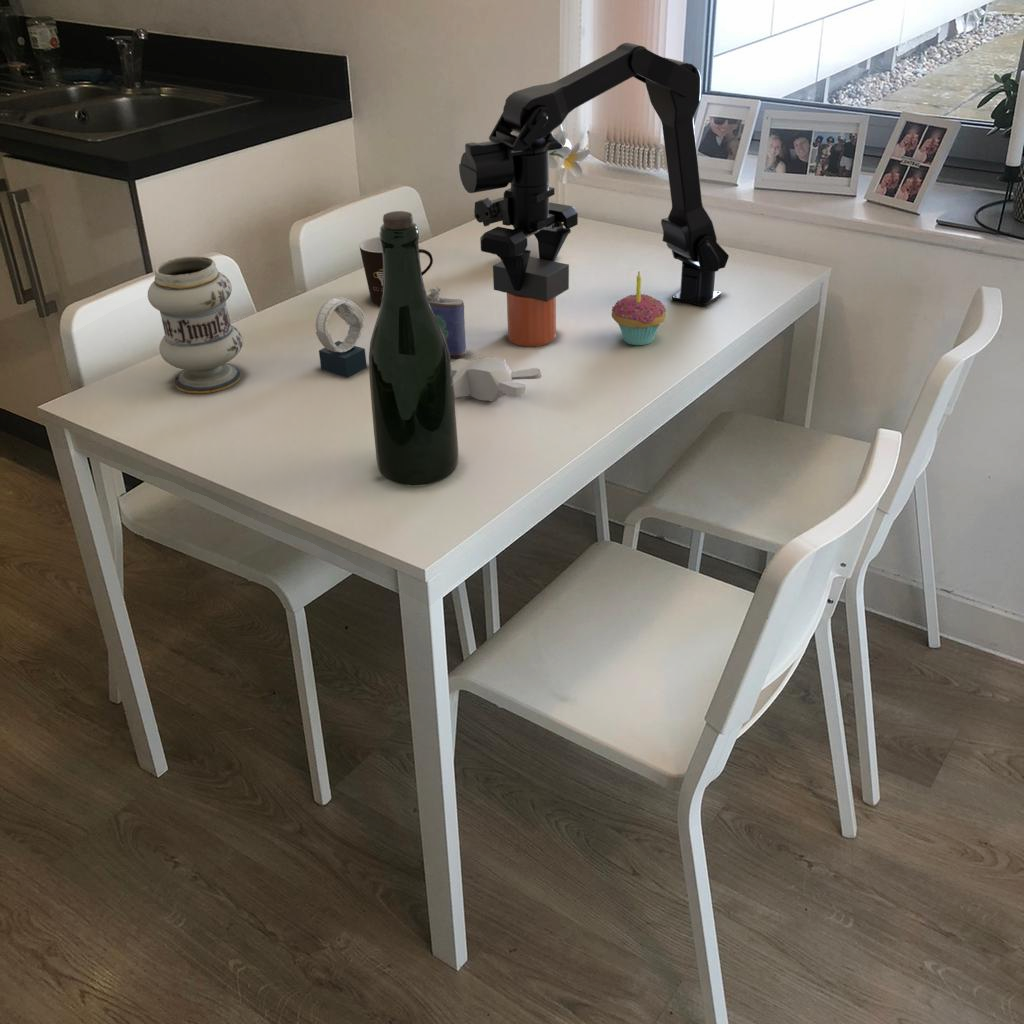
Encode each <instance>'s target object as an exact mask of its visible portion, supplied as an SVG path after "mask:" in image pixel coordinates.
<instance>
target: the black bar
mask: <svg viewBox="0 0 1024 1024" xmlns="http://www.w3.org/2000/svg"><path fill="white" fill-rule="evenodd" d="M492 282H493V290H494V291H498V292H502V293H506V294H507V293H510V294H515V295H519V296H523V297H528V298H532V299H537V300H541V301H545V302H547V301H549V300H551V299H552V298H554V297H556V298H557V297H558V296H560V295H561V294H563V293H565V292H566V291H568V290H569V289H570V264H569V263H563V262H558V261H549V260H544V259H539V258H534V257H529V261H528V265H527V269H526V273H525V277H524V281H523V285H522V288H521V290H520V291H515V290H514V289H513V287H512V284H511V281H510V279H509V276H508V273H507V271H506V268H505V266H504V264H503V262H502V260H500V261H499V262H497V263H495V264H493V265H492Z"/></svg>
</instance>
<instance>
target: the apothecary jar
mask: <svg viewBox="0 0 1024 1024" xmlns="http://www.w3.org/2000/svg"><path fill="white" fill-rule="evenodd" d="M232 291H233V287H232V283H231V281H230V279H229V278H228V277H227V276H226V275H225V274H223V273H222V272H220V271H219V270H218V268H217V265H216V262H215V260H214V259H213V258H211V257H208V256H203V255H199V256H198V255H187V256H179V257H174V258H170V259H167V260H164V261H163V262H161V263H159V264H158V265H157V266H155V268H154V280H153V282H152V283H151V284H150V285H149V287H148V290H147V300H148V302H149V304H150V305H151V306H152V307H153V308H154V309H156V310H157V311H158V312H159V314H160V317H161V321H162V322H161V323H162V327H163V333H164V336H163V337H162V339H161V340H160V342H159V345H158V350H159V354H160V356H161V358H162V359H163V360H164V361H165V363H167V364H168V365H170V366H172V367H173V368H176V369H179V370H181V371H180V372H178V373H177V374H176V376H175V377H174V382H175V384H174V385H175V388H176V389H177V390H179V391H181V392H185V393H189V394H196V395H197V394H198V395H199V394H200V395H201V394H210V393H211V394H212V393H216V392H219V391H223V390H226V389H228V388H230V387H232V386H234V385H236V383H237V382H239V380H241V377H242V373H241V371H240V368H238V367H237V366H235V365H232V364H230V363H229V362H231V360H233V359H234V358H236V356H238V354H239V353H240V351H241V350H242V348H243V345H244V343H243V342H244V341H243V340H244V339H243V336H242V334H241V332H240V331H239V330H238V328H236V327H235V326H234V325H233V324H232V323H231V319H230V314H229V311H228V306H227V301H228V300H229V298H230V297H231V295H232Z"/></svg>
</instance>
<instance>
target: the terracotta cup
mask: <svg viewBox="0 0 1024 1024" xmlns="http://www.w3.org/2000/svg"><path fill="white" fill-rule="evenodd" d="M506 311H507V315H506V316H507V317H506V318H507V338H508V340H509V342H511V343H512V344H514V345H517V346H520V347H540V346H541V347H542V346H545V345H548V344H550V343H552V342H554V341H555V339H556V338H557V296H556V297H554V298H552V299H551V300H549V301H547V302H545V301H541V300H537V299H532V298H528V297H523V296H519V295H515V294H510V293H506Z"/></svg>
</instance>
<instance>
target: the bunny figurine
mask: <svg viewBox="0 0 1024 1024" xmlns="http://www.w3.org/2000/svg"><path fill="white" fill-rule="evenodd" d="M451 368H452V377H453V389H454V399H456V398H461V397H468V396H471V397H472V398H474V399H476V400H479V401H491V402H495V401H496V400H498V398H499V397H500V396H502V395H503V394H507V395H508V396H510V397H513V398H519V397H523V396H524V395H525V393H526V387H527V386H526V384H525V383H522V382H518V381H517V380H539V379H542V378H543V374H542V371H541V369H540V368H538V367H533V368H526V369H520V370H515V371H514V370H513V371H512V369H510V367H509V365H508V363H507V361H506V360H505V359H504V358H501V357H497V356H496V357H494V356H488V357H487V356H486V357H482V358H478V359H474V360H466V359H465V358H457V359H456V360H454V361H453V362H451ZM514 380H515V381H514Z"/></svg>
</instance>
